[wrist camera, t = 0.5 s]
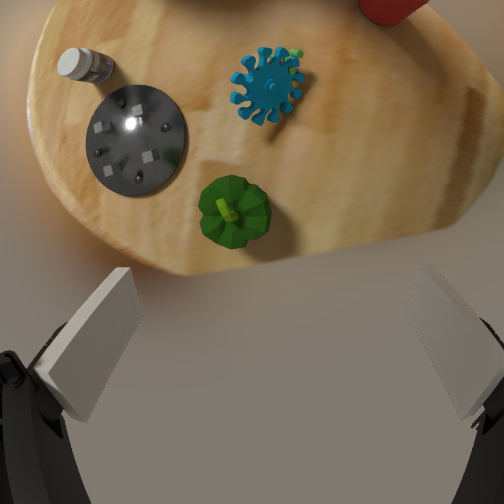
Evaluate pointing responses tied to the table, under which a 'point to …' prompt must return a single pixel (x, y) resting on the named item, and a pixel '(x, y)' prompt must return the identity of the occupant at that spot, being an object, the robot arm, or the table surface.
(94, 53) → the pill bottle
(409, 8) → the beer can
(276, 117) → the gear
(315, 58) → the table surface
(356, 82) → the table surface
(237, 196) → the bell pepper
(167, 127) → the hub
